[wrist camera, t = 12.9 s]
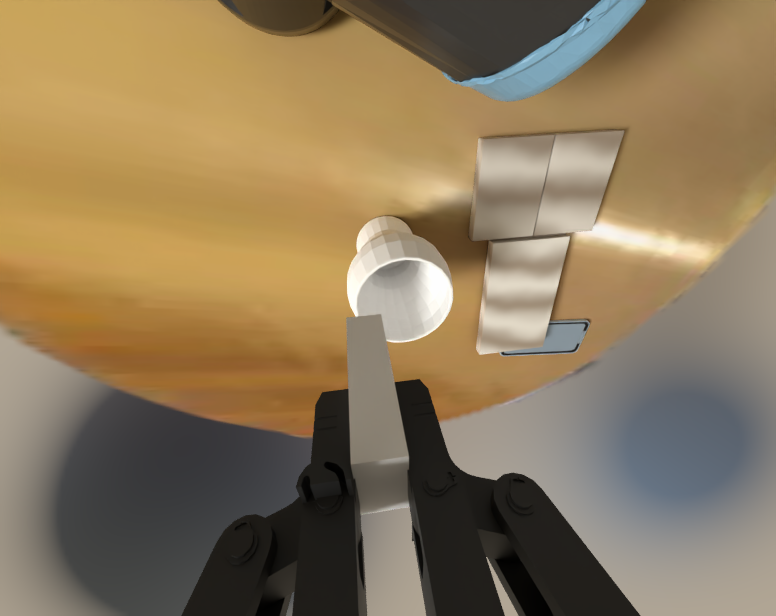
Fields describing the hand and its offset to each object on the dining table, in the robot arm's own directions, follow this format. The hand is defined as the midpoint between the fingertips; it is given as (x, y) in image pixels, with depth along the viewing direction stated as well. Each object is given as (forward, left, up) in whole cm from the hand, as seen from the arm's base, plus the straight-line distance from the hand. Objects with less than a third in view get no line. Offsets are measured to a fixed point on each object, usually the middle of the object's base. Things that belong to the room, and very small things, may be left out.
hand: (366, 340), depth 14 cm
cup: (+7, +4, -29) cm, 30 cm away
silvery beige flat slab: (+17, +24, -28) cm, 41 cm away
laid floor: (+1, +24, -28) cm, 37 cm away
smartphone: (+27, +31, -29) cm, 50 cm away
